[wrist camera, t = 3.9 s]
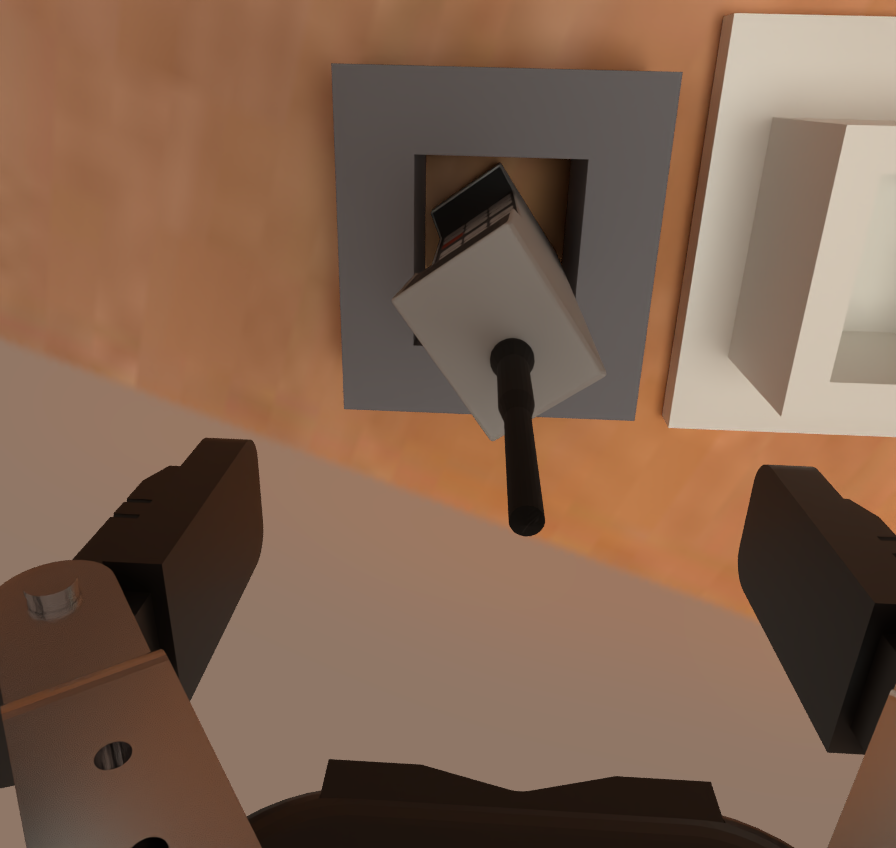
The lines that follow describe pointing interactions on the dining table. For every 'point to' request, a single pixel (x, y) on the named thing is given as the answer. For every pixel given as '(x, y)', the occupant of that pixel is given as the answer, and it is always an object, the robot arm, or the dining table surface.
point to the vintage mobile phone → (501, 325)
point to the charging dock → (793, 234)
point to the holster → (498, 135)
